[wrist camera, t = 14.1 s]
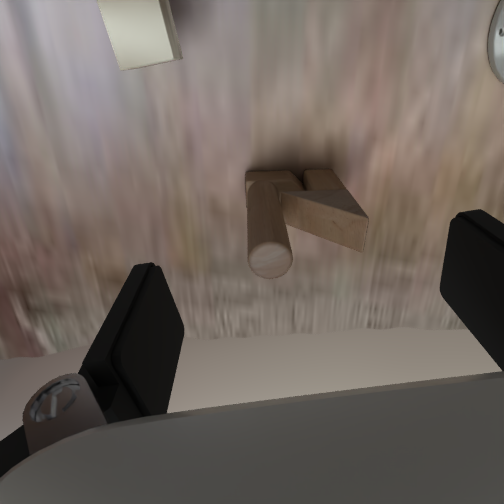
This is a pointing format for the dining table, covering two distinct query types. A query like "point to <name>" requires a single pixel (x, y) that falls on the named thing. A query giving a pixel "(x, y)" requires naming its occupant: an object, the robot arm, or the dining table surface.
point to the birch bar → (141, 32)
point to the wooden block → (298, 216)
